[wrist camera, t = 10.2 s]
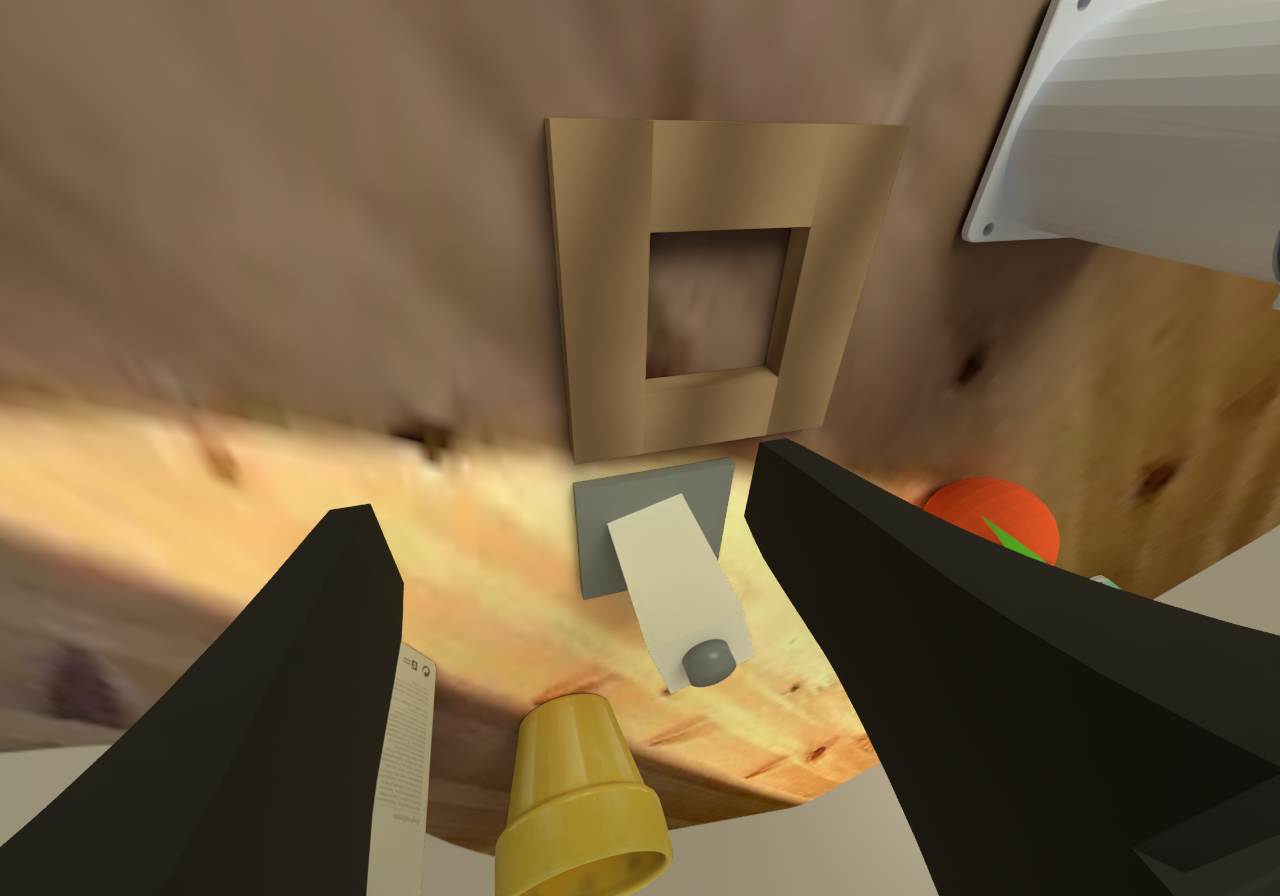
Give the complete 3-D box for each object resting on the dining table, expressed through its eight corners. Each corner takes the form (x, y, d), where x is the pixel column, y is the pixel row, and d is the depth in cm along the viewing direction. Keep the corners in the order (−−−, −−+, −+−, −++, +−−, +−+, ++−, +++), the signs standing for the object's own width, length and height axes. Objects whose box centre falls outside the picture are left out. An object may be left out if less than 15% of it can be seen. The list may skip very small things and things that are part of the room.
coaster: (729, 457, 24) (735, 464, 23) (712, 562, 29) (716, 570, 28) (573, 482, 22) (575, 491, 22) (581, 591, 27) (583, 600, 26)
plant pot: (458, 746, 33) (454, 941, 25) (557, 663, 30) (586, 851, 23) (568, 761, 39) (592, 921, 31) (659, 692, 36) (708, 848, 29)
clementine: (872, 502, 30) (964, 593, 24) (968, 427, 28) (1089, 507, 23) (913, 547, 34) (998, 632, 29) (997, 485, 33) (1104, 562, 27)
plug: (681, 493, 24) (753, 627, 18) (696, 541, 26) (763, 674, 20) (607, 523, 23) (654, 670, 17) (629, 569, 26) (677, 712, 20)
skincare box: (384, 629, 24) (329, 964, 15) (441, 663, 27) (425, 962, 18) (281, 683, 24) (161, 1049, 15) (348, 711, 27) (283, 1034, 18)
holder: (886, 124, 17) (910, 126, 16) (808, 413, 24) (821, 426, 23) (544, 117, 14) (549, 118, 13) (570, 448, 21) (574, 464, 20)
